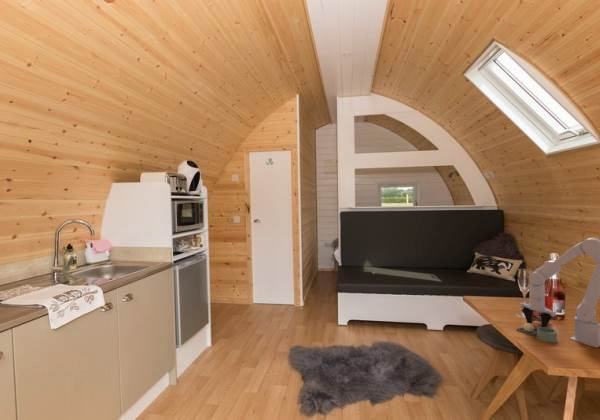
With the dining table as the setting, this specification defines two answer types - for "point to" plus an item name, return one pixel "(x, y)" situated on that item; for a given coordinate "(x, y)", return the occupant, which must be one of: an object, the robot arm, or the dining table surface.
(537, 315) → the soda can
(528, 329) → the ball cream
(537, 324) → the ball terracotta
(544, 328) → the teal tube
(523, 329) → the slate tray
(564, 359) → the dining table surface
